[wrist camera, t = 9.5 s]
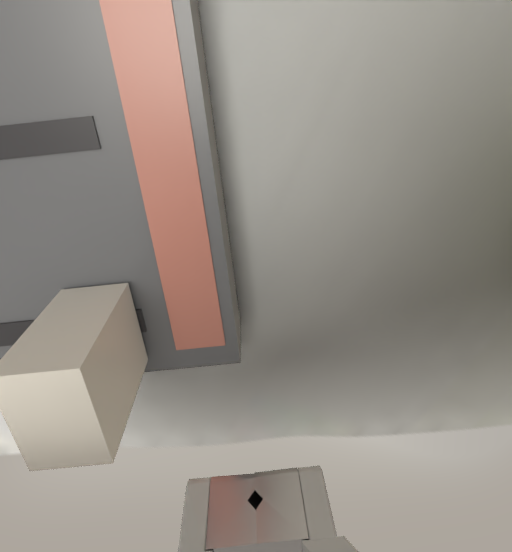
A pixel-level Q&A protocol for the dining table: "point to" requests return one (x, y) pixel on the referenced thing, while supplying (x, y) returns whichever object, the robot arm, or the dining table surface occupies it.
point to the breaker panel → (114, 172)
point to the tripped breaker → (74, 378)
